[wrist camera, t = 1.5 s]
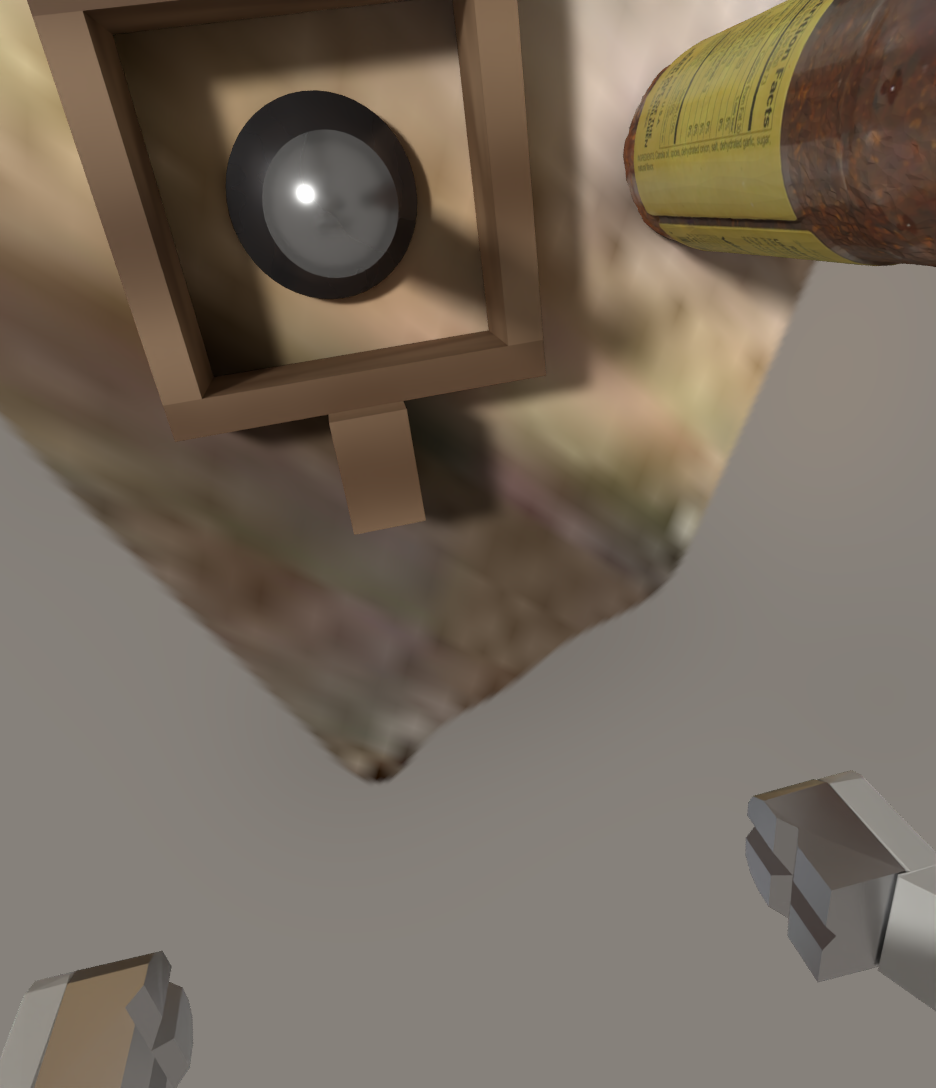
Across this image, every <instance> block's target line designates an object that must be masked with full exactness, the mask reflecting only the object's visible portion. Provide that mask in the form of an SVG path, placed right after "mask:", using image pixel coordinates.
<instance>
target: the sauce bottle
mask: <svg viewBox="0 0 936 1088" xmlns="http://www.w3.org/2000/svg"><path fill="white" fill-rule="evenodd" d="M629 129H630V130H629V134H628V136H627V138H626V140H625V145H624V154H623V158H624V164H625V170H626V181H627V183H628V185H629V187H630V192H631V195H632V198H633V201H634V203H635V204H636V206H637V208H638V211H639V213H640V215H641V216H642V219H643V221H644V222H645V223H646V224H647V225H648V226H650V227H651V228H652V229H653V230H655V231H656V232H657V233H659V234H661V235H663V236H665V237H667V238H668V239H672V240H676V241H678V242H680V243H682V244H684V245H686V246H689V247H692V248H695V249H699V250H702V251H718V252H728V253H740V254H751V255H763V256H775V257H785V258H796V259H806V260H816V261H827V262H837V263H847V264H857V265H870V266H887V265H896V264H900V263H902V264H903V263H906V264H916V265H925V266H926V265H927V266H933V267H936V0H787V1H785V2H783V3H781V4H779V5H777V6H775V7H773V8H771V9H769V10H767V11H765V12H763V13H761V14H759V15H757V16H754V17H752V18H750V19H748V20H746V21H744V22H741V23H739V24H737V25H735V26H733V27H731V28H728V29H726V30H724V31H722V32H720V33H718V34H716V35H714V36H711V37H709V38H707V39H705V40H703V41H701V42H699V43H698V44H696V45H694V46H693V47H691V48H690V49H688V50H687V51H686V52H684V53H683V54H682V55H681V56H679V57H678V58H677V59H676V60H675V61H674V62H673V63H672V64H671V65H669V66H668V67H666V68H664V69H663V70H662V71H661V72H660V73H659V74H658V75H657V77H656V78H655V79H654V80H653V82H652V84H651V86H650V87H649V88H648V90H647V92H646V94H645V95H644V96H643V97H642V101H641V103H640V105H639V106H638V108H637V110H636V112H635V115H634V117H633V120H632V123H631V126H630V128H629Z"/></svg>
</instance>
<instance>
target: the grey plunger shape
mask: <svg viewBox="0 0 936 1088" xmlns="http://www.w3.org/2000/svg"><path fill="white" fill-rule="evenodd" d="M226 197H227V205H228V210H229V215H230V218H231V221H232V224H233V227H234V230H235V232H236V234H237V236H238V238H239V241H240V242H241V244H242V246H243V247H244V249H245V251H246V252H247V254H248V255H249V256H250V257H251V259H252V260H253V261H254V263H255V264H256V265H257V266H258V267H259V268H260V269H261V270H262V271H263V272H264V273H265V274H267V275H268V276H269V277H270V278H272V279H273V280H274V281H276V282H277V283H279V284H280V285H282V286H284V287H285V288H287V289H290V290H292V291H294V292H296V293H299V294H302V295H305V296H309V297H314V298H320V299H338V298H345V297H350V296H354V295H357V294H359V293H362V292H365V291H367V290H369V289H370V288H372V287H374V286H376V285H377V284H378V283H380V282H381V281H382V280H384V279H385V278H386V277H387V276H388V275H389V274H390V273H391V272H392V271H393V270H394V269H395V267H396V266H397V265H398V263H399V262H400V261H401V259H402V257H403V256H404V254H405V252H406V250H407V248H408V246H409V243H410V241H411V238H412V235H413V231H414V228H415V222H416V215H417V194H416V185H415V180H414V176H413V172H412V169H411V166H410V163H409V160H408V158H407V156H406V154H405V151H404V149H403V147H402V146H401V144H400V143H399V141H398V139H397V138H396V136H395V135H394V134H393V132H392V131H391V130H390V128H389V127H388V126H387V125H386V124H385V123H384V122H383V121H382V120H381V119H380V118H379V117H378V116H377V115H376V114H374V113H373V112H372V111H371V110H369V109H368V108H367V107H365V106H363V105H362V104H360V103H358V102H356V101H355V100H352V99H350V98H348V97H345V96H343V95H339V94H335V93H331V92H326V91H316V90H314V91H300V92H295V93H291V94H287V95H285V96H282V97H279V98H277V99H275V100H273V101H272V102H270V103H268V104H266V105H265V106H264V107H262V108H261V109H260V110H259V111H257V112H256V113H255V114H254V115H253V116H252V117H251V119H250V120H249V121H248V122H247V123H246V124H245V126H244V127H243V129H242V130H241V132H240V133H239V135H238V137H237V139H236V141H235V143H234V145H233V148H232V151H231V154H230V157H229V162H228V167H227V173H226Z"/></svg>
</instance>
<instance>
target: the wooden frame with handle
mask: <svg viewBox="0 0 936 1088" xmlns="http://www.w3.org/2000/svg"><path fill="white" fill-rule="evenodd" d="M27 1H28V4H29V7H30V10H31V13H32V16H33V19H34V22H35V25H36V28H37V31H38V34H39V37H40V40H41V43H42V46H43V49H44V52H45V55H46V58H47V61H48V64H49V67H50V70H51V73H52V76H53V79H54V82H55V85H56V88H57V91H58V94H59V97H60V100H61V103H62V106H63V109H64V112H65V115H66V118H67V121H68V124H69V127H70V130H71V133H72V136H73V139H74V142H75V145H76V148H77V151H78V154H79V157H80V160H81V162H82V165H83V168H84V171H85V174H86V177H87V180H88V183H89V186H90V189H91V192H92V195H93V198H94V201H95V204H96V207H97V210H98V213H99V216H100V219H101V222H102V225H103V228H104V231H105V234H106V237H107V240H108V243H109V246H110V249H111V252H112V255H113V258H114V261H115V264H116V267H117V270H118V273H119V276H120V279H121V282H122V285H123V288H124V291H125V294H126V297H127V300H128V303H129V306H130V309H131V312H132V315H133V318H134V321H135V324H136V327H137V330H138V333H139V336H140V339H141V342H142V344H143V347H144V350H145V353H146V356H147V359H148V362H149V365H150V368H151V371H152V374H153V377H154V380H155V383H156V386H157V389H158V392H159V395H160V398H161V401H162V404H163V407H164V410H165V413H166V416H167V419H168V422H169V425H170V428H171V431H172V434H173V437H174V440H175V442H177V441H183V440H189V439H194V438H200V437H205V436H211V435H216V434H222V433H228V432H233V431H239V430H244V429H250V428H255V427H261V426H267V425H272V424H278V423H283V422H289V421H295V420H300V419H306V418H311V417H317V416H322V415H328V414H329V425H330V429H331V434H332V438H333V443H334V447H335V452H336V456H337V460H338V465H339V469H340V474H341V478H342V482H343V487H344V491H345V496H346V500H347V505H348V509H349V513H350V518H351V522H352V527H353V531H354V535H355V534H360V533H365V532H370V531H375V530H380V529H386V528H391V527H396V526H401V525H406V524H411V523H416V522H421V521H426V519H425V513H424V507H423V501H422V495H421V490H420V484H419V478H418V472H417V466H416V460H415V455H414V449H413V443H412V437H411V431H410V426H409V420H408V414H407V409H406V406H405V404H404V402H403V401H406V400H412V399H417V398H423V397H428V396H434V395H440V394H445V393H451V392H456V391H462V390H467V389H473V388H479V387H484V386H490V385H495V384H501V383H506V382H512V381H518V380H523V379H529V378H534V377H540V376H546V368H545V355H544V342H543V329H542V316H541V303H540V290H539V277H538V264H537V251H536V238H535V225H534V212H533V198H532V185H531V172H530V159H529V146H528V133H527V120H526V107H525V94H524V81H523V68H522V55H521V42H520V29H519V16H518V2H517V0H452V2H453V11H454V20H455V29H456V38H457V47H458V56H459V65H460V74H461V83H462V92H463V101H464V110H465V119H466V128H467V137H468V146H469V155H470V164H471V174H472V183H473V192H474V201H475V210H476V219H477V228H478V237H479V246H480V255H481V264H482V273H483V282H484V291H485V300H486V309H487V318H488V327H489V331H483V332H477V333H471V334H465V335H459V336H453V337H448V338H442V339H436V340H430V341H424V342H418V343H412V344H406V345H401V346H395V347H389V348H383V349H377V350H371V351H365V352H359V353H354V354H348V355H342V356H336V357H330V358H324V359H318V360H312V361H307V362H301V363H295V364H289V365H283V366H277V367H271V368H265V369H260V370H254V371H248V372H242V373H236V374H230V375H224V376H218V377H214V376H213V373H212V370H211V366H210V363H209V359H208V356H207V353H206V349H205V346H204V343H203V339H202V336H201V332H200V329H199V326H198V322H197V319H196V315H195V312H194V309H193V305H192V302H191V299H190V295H189V292H188V288H187V285H186V282H185V278H184V275H183V271H182V268H181V265H180V261H179V258H178V255H177V251H176V248H175V244H174V241H173V238H172V234H171V231H170V227H169V224H168V221H167V217H166V214H165V211H164V207H163V204H162V200H161V197H160V194H159V190H158V187H157V183H156V180H155V177H154V173H153V170H152V167H151V163H150V160H149V156H148V153H147V150H146V146H145V143H144V139H143V136H142V133H141V129H140V126H139V123H138V119H137V116H136V112H135V109H134V106H133V102H132V99H131V95H130V92H129V89H128V85H127V82H126V79H125V75H124V72H123V68H122V65H121V62H120V58H119V55H118V51H117V48H116V45H115V41H114V38H113V35H112V34H120V33H129V32H137V31H146V30H155V29H163V28H172V27H181V26H190V25H198V24H207V23H216V22H224V21H233V20H242V19H250V18H259V17H268V16H277V15H285V14H294V13H303V12H311V11H320V10H329V9H337V8H346V7H355V6H364V5H372V4H381V3H390V2H398V1H407V0H27Z"/></svg>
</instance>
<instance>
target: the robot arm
mask: <svg viewBox="0 0 936 1088" xmlns="http://www.w3.org/2000/svg"><path fill="white" fill-rule="evenodd" d="M747 816H748V817H749V819H750V820H751V822H752V823H753V824H754V826H755V827H754V828H753V830H751V832H750V833H749V834H748V836H747V837H746V858H747V862H748V866H749V870H750V873H751V875H752V878H753V880H754V882H755V884H756V887H757V888H758V891H759V892H760V894H761V895H762V897H763V898H764V900H765V902H766V903H767V905H768V906H769V907H770V908H772V909H774V910H775V911H777V912H779V913H780V914H782V915H784V916H786V917H788V937H789V939H790V941H791V942H792V944H793V945H794V947H795V948H796V950H797V951H798V952H799V954H800V956H801V957H802V959H803V960H804V962H805V963H806V965H807V967H808V968H809V970H810V971H811V973H812V974H813V976H814V977H815V979H816V980H817V982H821V981H825V980H829V979H833V978H836V977H840V976H844V975H848V974H852V973H856V972H860V971H864V970H868V969H871V968H875V967H879V968H878V971H879V972H881V973H882V974H883V975H885V976H886V977H888V978H889V979H891V980H892V981H893V982H895V983H897V984H898V985H899V986H901V987H902V988H903V989H905V990H906V991H908V992H909V993H911V994H912V995H913V996H915V997H916V998H918V999H919V1000H921V1001H922V1002H923V1003H925V1004H926V1005H928V1006H929V1007H931V1008H932V1009H933V1010H935V1011H936V852H935V850H934V849H933V848H931V846H930V845H929V844H928V843H927V842H926V841H925V840H924V839H923V838H922V837H921V836H920V835H919V834H918V833H917V832H916V831H915V830H914V829H913V828H912V827H911V826H910V825H909V824H908V823H907V822H906V821H905V820H904V819H903V818H902V817H901V815H900V814H899V813H898V812H897V811H896V810H895V809H894V808H893V807H892V806H891V805H890V804H889V803H888V802H887V801H886V800H885V799H884V798H883V797H882V796H881V795H880V794H879V793H878V792H877V791H876V790H875V789H874V788H873V787H872V786H871V785H870V784H869V783H868V782H867V781H866V779H865V778H864V777H863V776H862V775H860V774H858V773H856V772H854V771H847V772H843V773H839V774H836V775H831V776H828V777H824V778H820V779H818V780H815V779H813V780H809V781H805V782H802V783H799V784H795V785H791V786H787V787H784V788H780V789H777V790H773V791H769V792H766V793H762V794H758V795H755V796H753V797H752V798H751V799H750V801H749V803H748V813H747ZM170 972H171V965H170V963H169V961H168V960H167V958H166V956H165V954H164V953H163V951H159V952H155V953H151V954H146V955H142V956H138V957H133V958H129V959H125V960H120V961H116V962H112V963H107V964H103V965H99V966H95V967H91V968H86V969H81V970H77V971H73V972H69V973H66V974H61V975H57V976H53V977H49V978H45V979H41V980H37V981H35V982H34V983H33V985H32V986H31V987H30V988H29V990H28V991H27V992H26V994H25V995H24V997H23V999H22V1002H21V1004H20V1007H19V1010H18V1012H17V1015H16V1018H15V1020H14V1023H13V1026H12V1028H11V1031H10V1034H9V1036H8V1039H7V1042H6V1044H5V1047H4V1050H3V1052H2V1055H1V1058H0V1088H176V1087H177V1086H178V1084H179V1082H180V1081H181V1080H182V1078H183V1077H184V1075H185V1074H186V1072H187V1071H188V1069H189V1068H190V1061H191V1054H192V1046H193V1024H192V1023H193V1022H192V1013H191V1009H190V1004H189V1000H188V998H187V996H186V994H185V992H184V989H183V988H182V987H180V986H178V985H175V984H173V983H171V982H169V978H170Z"/></svg>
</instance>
